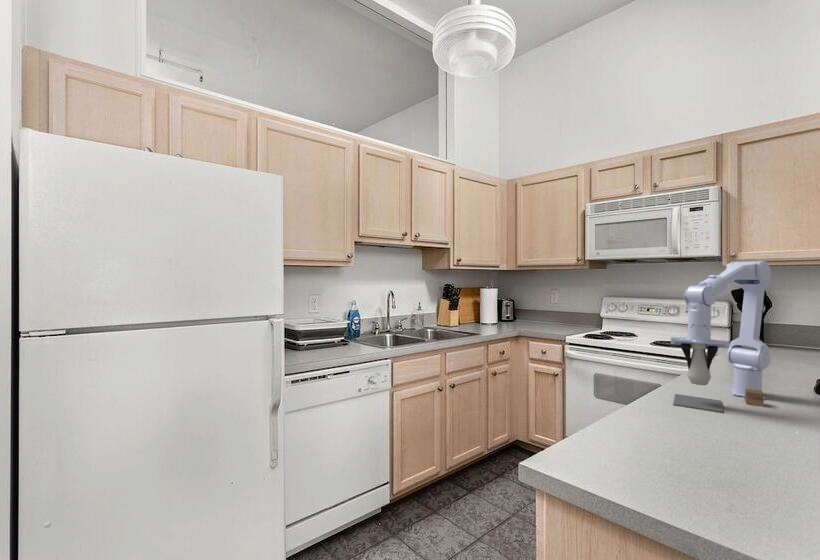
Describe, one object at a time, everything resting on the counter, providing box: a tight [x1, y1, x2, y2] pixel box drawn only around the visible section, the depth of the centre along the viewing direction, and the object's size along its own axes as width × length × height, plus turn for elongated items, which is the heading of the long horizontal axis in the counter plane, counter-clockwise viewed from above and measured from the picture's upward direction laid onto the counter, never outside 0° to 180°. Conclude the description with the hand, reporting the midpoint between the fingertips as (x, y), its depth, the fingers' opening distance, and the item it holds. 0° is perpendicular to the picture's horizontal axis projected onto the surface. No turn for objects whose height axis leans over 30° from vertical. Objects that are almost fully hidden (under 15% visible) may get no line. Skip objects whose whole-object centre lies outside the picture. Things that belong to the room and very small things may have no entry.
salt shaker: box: [687, 343, 712, 386], centre depth 124 cm, size 6×6×13 cm
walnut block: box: [744, 389, 765, 408], centre depth 125 cm, size 4×4×4 cm
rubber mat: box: [672, 393, 724, 414], centre depth 125 cm, size 13×12×1 cm
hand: (698, 369), depth 125 cm, fingers closed on salt shaker, 4 cm apart
